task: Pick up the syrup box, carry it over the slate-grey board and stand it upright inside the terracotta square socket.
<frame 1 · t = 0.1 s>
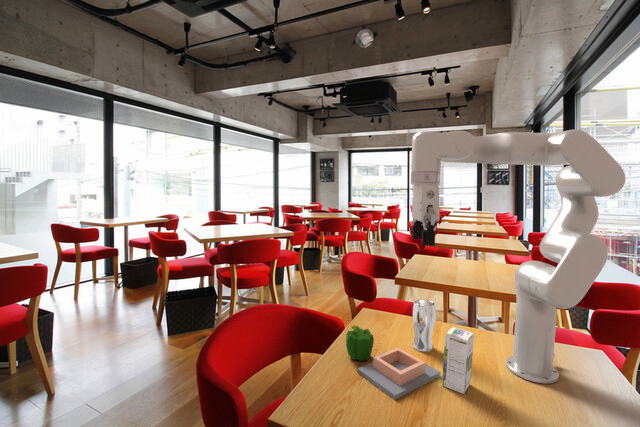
hand: (422, 241, 90), 37 cm above the table, tool pointing down, fingers open, 9 cm apart
syrup box: (456, 386, 87), on the table
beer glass: (422, 348, 106), on the table
socket board: (398, 374, 91), on the table
bell pepper: (359, 357, 100), on the table
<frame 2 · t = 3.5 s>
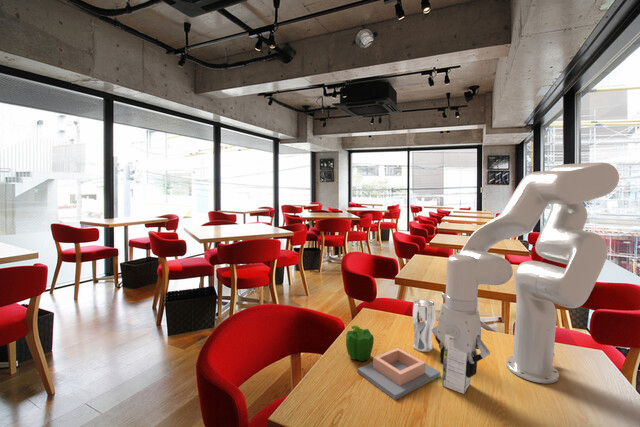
hand: (457, 368, 86), 5 cm above the table, tool pointing down, fingers closed on syrup box, 6 cm apart
syrup box: (456, 386, 87), on the table, touching gripper
everything else where it was.
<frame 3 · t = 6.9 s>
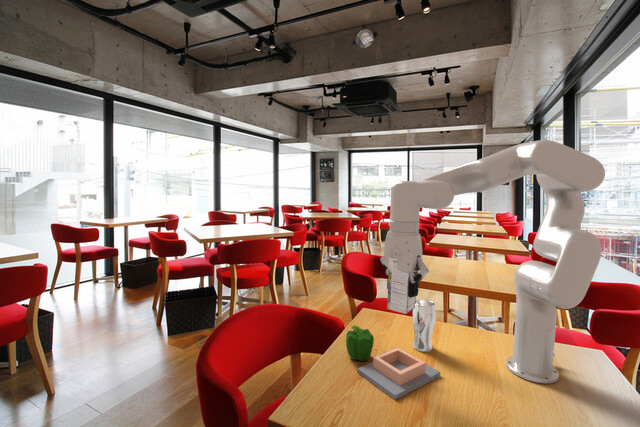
hand: (402, 291, 89), 24 cm above the table, tool pointing down, fingers closed on syrup box, 6 cm apart
syrup box: (401, 309, 89), point 19 cm above the table, touching gripper
everything else where it was.
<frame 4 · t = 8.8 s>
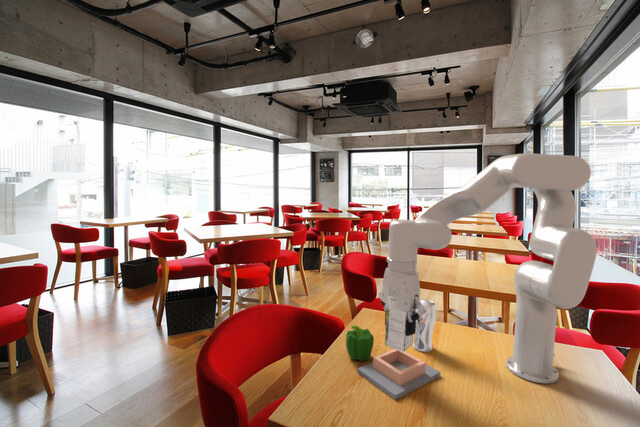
hand: (399, 328, 90), 13 cm above the table, tool pointing down, fingers closed on syrup box, 6 cm apart
syrup box: (399, 345, 90), point 8 cm above the table, touching gripper
everything else where it was.
when the fingers open (7 cm above the table, at t = 10.5 s): syrup box drops 1 cm, resting on socket board.
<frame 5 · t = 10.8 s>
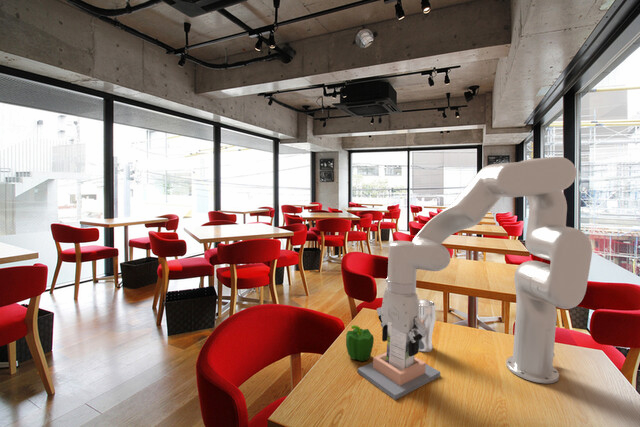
hand: (399, 347, 91), 8 cm above the table, tool pointing down, fingers open, 9 cm apart
syrup box: (400, 371, 91), point 1 cm above the table, touching socket board
everything else where it was.
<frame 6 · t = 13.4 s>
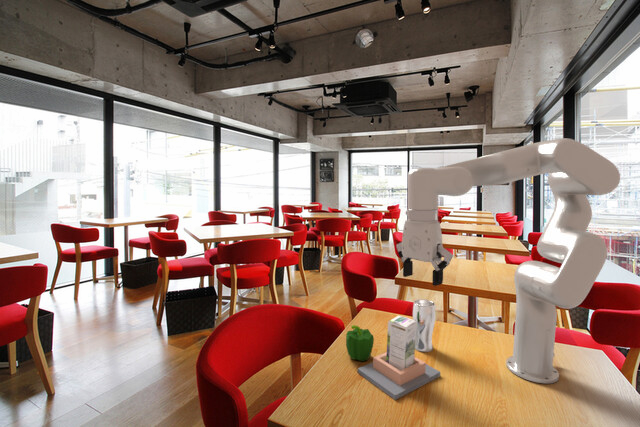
hand: (422, 280, 87), 28 cm above the table, tool pointing down, fingers open, 9 cm apart
nothing on the table moved.
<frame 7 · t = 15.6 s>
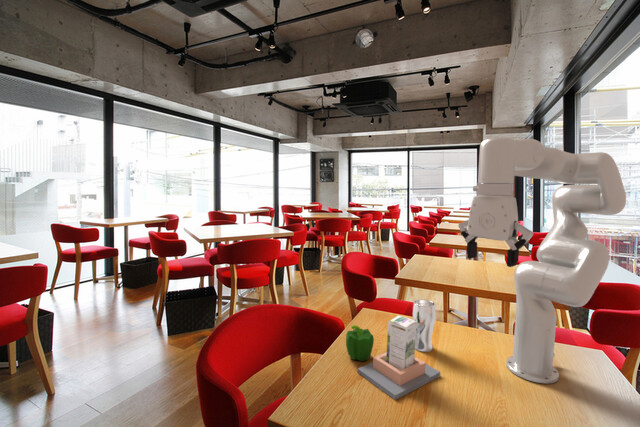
hand: (490, 261, 80), 34 cm above the table, tool pointing down, fingers open, 9 cm apart
nothing on the table moved.
at the end: syrup box 0.4 cm off-centre on the socket board, point 1.0 cm above the socket board's base; syrup box tilted 0°; the gripper is holding nothing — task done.
